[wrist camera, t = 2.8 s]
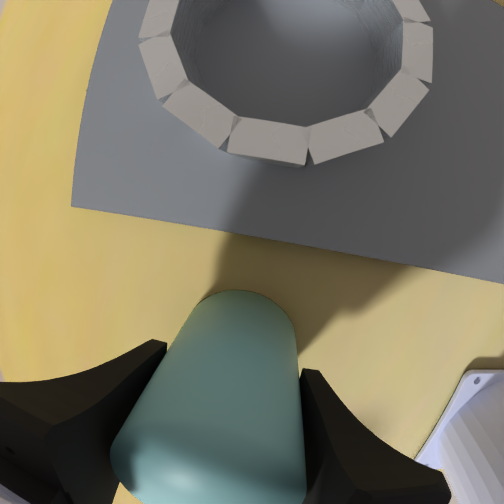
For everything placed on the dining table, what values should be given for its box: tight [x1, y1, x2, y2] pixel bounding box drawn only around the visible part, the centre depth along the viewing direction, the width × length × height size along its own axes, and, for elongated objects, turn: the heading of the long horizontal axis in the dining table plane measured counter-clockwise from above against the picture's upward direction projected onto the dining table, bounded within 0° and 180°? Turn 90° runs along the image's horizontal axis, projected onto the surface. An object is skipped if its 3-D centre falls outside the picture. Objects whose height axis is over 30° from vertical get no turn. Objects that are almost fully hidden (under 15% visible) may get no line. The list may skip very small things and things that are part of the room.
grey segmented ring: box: [138, 0, 433, 168], centre depth 9 cm, size 9×9×3 cm
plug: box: [110, 290, 307, 504], centre depth 10 cm, size 5×5×8 cm
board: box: [71, 0, 504, 284], centre depth 11 cm, size 20×14×1 cm
